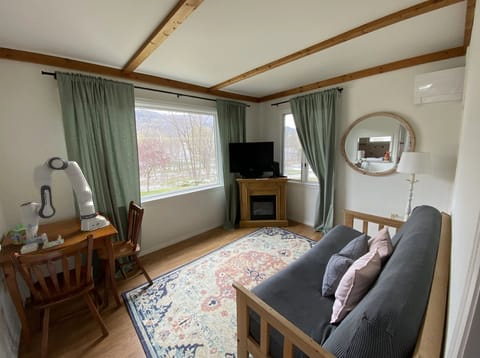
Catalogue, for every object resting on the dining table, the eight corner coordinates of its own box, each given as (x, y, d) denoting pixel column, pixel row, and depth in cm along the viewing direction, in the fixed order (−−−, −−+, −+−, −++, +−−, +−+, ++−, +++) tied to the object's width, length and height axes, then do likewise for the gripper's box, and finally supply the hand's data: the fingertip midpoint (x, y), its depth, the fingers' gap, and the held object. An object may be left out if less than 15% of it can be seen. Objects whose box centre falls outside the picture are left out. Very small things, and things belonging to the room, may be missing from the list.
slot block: (38, 246, 162) (37, 242, 161) (36, 250, 155) (35, 246, 155) (24, 249, 157) (23, 245, 156) (21, 254, 151) (20, 250, 150)
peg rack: (63, 240, 170) (62, 234, 169) (63, 243, 164) (61, 238, 163) (44, 244, 163) (42, 239, 162) (42, 248, 157) (41, 242, 156)
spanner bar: (46, 240, 171) (44, 235, 170) (45, 242, 168) (44, 237, 167) (27, 245, 164) (26, 239, 163) (26, 246, 162) (25, 241, 161)
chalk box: (23, 244, 165) (18, 227, 162) (12, 244, 165) (7, 227, 162) (34, 239, 174) (30, 222, 171) (24, 239, 174) (20, 222, 171)
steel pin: (48, 241, 168) (46, 232, 167) (47, 243, 166) (45, 234, 164) (43, 243, 166) (41, 233, 165) (42, 244, 164) (40, 235, 162)
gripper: (33, 225, 156) (37, 242, 159) (38, 218, 172) (41, 233, 175) (21, 228, 152) (25, 245, 155) (27, 219, 168) (31, 235, 171)
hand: (34, 238), depth 165 cm, fingers open, 8 cm apart
